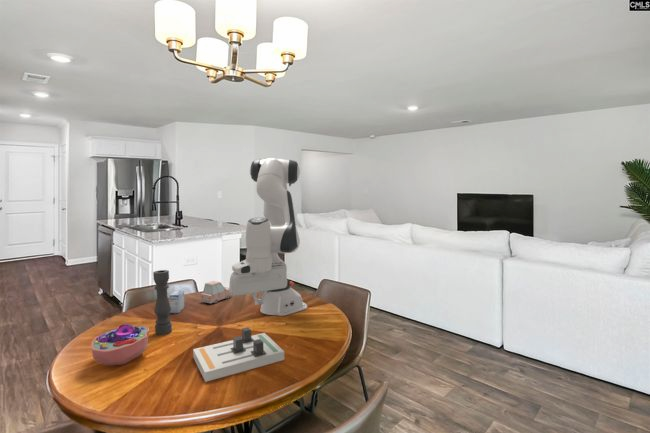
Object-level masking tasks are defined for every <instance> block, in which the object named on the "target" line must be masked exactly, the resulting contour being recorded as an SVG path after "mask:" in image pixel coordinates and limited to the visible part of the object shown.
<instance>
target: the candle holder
mask: <svg viewBox="0 0 650 433" xmlns="http://www.w3.org/2000/svg"><path fill="white" fill-rule="evenodd" d="M152 274H153V282H154V283H155V286H154V290H156V299H155V300H156V301H155V305H154V309H153V310H154V314H155V316H156V320H155V323H154V324H155V325H154V333H155V334H154V335H156V336H166V335H169V334H171V333H172V332H173V330H172V329H173V327H172V326H173V325H172V320H171V318H170V317H169V316H170V314H171V313H170V311H171V307H170V299H169V297H168V289H169V287H170V286H169V284H168V282H169V280H170V271H169V269H160V270H156V271H153V272H152ZM168 333H169V334H168ZM165 334H166V335H165Z"/></svg>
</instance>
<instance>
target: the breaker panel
mask: <svg viewBox="0 0 650 433" xmlns="http://www.w3.org/2000/svg"><path fill="white" fill-rule="evenodd" d="M251 337H252V338H253V339H254V340H258V339H261V340H262V341H263V350H264V351H265V352H266V354H264V355H260V356H257V357H254V355H253V354H252V353H251V351H253V341H250V342H246V343H243V347H244V348H245V349H246V351H242V352H238V353H234V352H233V351H232V350H231V348H233V339H232V340H228V341H223V342H219V343H214V344H210V345H205V346H202V347H198V348H197V347H196V348H193V349H192V353H193V354H192V357H193V360H194V362H195V364H196V367H197V368H198V370H199V372H200V374H201V375H202V376H201V377H202V379H203V381H204V382H205V383H207V382H210V381H213V380H217V379H221V378H224V377H228V376H232V375H235V374H239V373H243V372H246V371H249V370H252V369H256V368H261V367H264V366H266V365H267V366H268V365H271V364H274V363H278V362H281V361H285V350H284V349H282V348H281V347H280V346H279V345H278V344H277V343H276V342H275V341H274V340H273V339H272V338H271V337H270V336H269V335H267V334H266V333H265V332H263V333H258V334H253V335H251Z"/></svg>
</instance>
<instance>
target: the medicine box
mask: <svg viewBox="0 0 650 433" xmlns="http://www.w3.org/2000/svg"><path fill="white" fill-rule="evenodd" d="M168 299H169V303H170V307H171V311H170V313H169V314H180V312H182V310H184V308H185V290H174V291H173V292H172V293H171V294H169V297H168Z"/></svg>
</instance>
